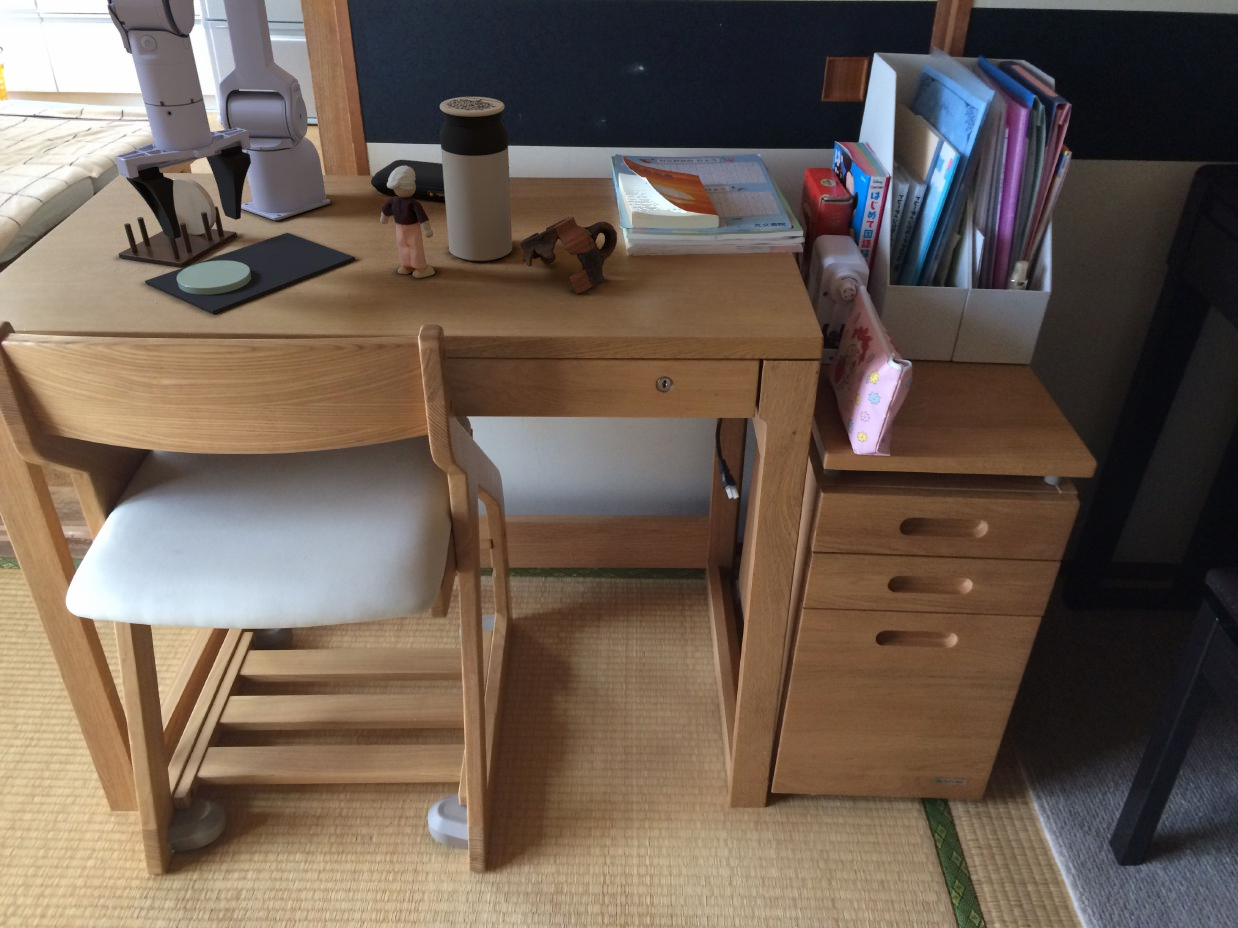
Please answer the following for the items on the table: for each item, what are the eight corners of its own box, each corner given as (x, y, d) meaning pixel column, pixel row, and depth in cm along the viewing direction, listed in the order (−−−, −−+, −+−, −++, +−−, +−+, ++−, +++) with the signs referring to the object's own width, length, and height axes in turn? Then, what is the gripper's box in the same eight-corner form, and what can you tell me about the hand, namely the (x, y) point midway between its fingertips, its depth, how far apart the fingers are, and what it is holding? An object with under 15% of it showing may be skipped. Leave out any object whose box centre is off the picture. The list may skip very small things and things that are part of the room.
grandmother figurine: (448, 270, 113) (439, 165, 106) (433, 281, 110) (422, 175, 103) (392, 260, 115) (380, 157, 108) (376, 272, 112) (362, 166, 105)
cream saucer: (173, 229, 120) (159, 173, 116) (221, 236, 119) (209, 180, 115) (168, 231, 120) (154, 175, 116) (217, 238, 118) (204, 182, 114)
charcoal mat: (287, 235, 121) (287, 232, 121) (355, 260, 115) (354, 256, 115) (145, 283, 108) (144, 280, 107) (213, 314, 102) (212, 311, 101)
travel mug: (485, 268, 114) (477, 116, 104) (436, 253, 117) (423, 105, 107) (524, 248, 120) (520, 102, 109) (476, 235, 123) (467, 92, 113)
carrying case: (363, 197, 134) (459, 208, 131) (361, 176, 132) (457, 187, 130) (395, 175, 143) (486, 185, 140) (393, 155, 141) (484, 165, 138)
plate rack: (177, 228, 122) (169, 197, 120) (237, 236, 120) (230, 205, 118) (119, 258, 114) (109, 226, 111) (182, 267, 112) (174, 235, 109)
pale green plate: (228, 255, 112) (163, 273, 107) (263, 274, 108) (197, 293, 103) (230, 262, 113) (165, 280, 108) (264, 281, 108) (199, 301, 103)
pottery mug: (560, 306, 107) (528, 240, 104) (532, 310, 115) (502, 249, 113) (643, 261, 110) (613, 195, 108) (610, 268, 119) (582, 208, 117)
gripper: (129, 120, 90) (165, 254, 97) (257, 93, 99) (280, 217, 107) (90, 108, 93) (127, 238, 101) (217, 83, 103) (242, 203, 110)
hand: (203, 226), depth 104 cm, fingers open, 7 cm apart
